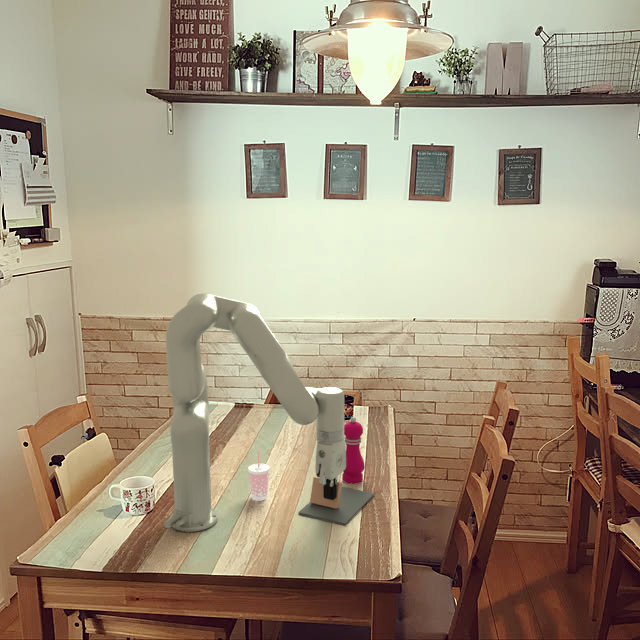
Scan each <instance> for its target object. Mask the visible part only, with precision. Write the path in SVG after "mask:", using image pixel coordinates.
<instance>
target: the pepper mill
mask: <svg viewBox="0 0 640 640" xmlns="http://www.w3.org/2000/svg"><path fill="white" fill-rule="evenodd" d="M363 433H364V428H363V426H362V424H361V423H360V422H358V421H357V418H356V417H355V416H351V417H350V421H348V422H346V423H344V440H345V449H346V468H345V470H344V471H343V472H342V473H341V476H342V477H341V479H342V481H343V482H344V483H345V482H346V484H349V483H352V484H351V485H355V484H356V483H357V484H360V483H362V482H363V480H364V474H363V472H364V470H365V461H364V459H363V456H362V454H361V453H362V452H361V449H360V448H361V447H360V446H361V445H360V444H361V443H362V437H361V436H362V435H363Z"/></svg>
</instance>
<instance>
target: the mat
mask: <svg viewBox="0 0 640 640" xmlns="http://www.w3.org/2000/svg"><path fill="white" fill-rule="evenodd" d="M374 496H375V493H374V492H370V491H364V490H361V489H355V488H352V487H346V486H342V489H341V496H340V503H339V508H336V509H335V508H331V507H327V506H323V505H319V504H314V503H310V501H309V502H308V503H307V504H306V505H305V506H304V507H302V508H301V509H300V510H299V511H298V515H301V516H305V517H308V518H313V519H317V520H321V521H325V522H329V523H333V522H334V524H337V523H340V524H339V525H341V524H344V525H343V526H346V525H348V523H349V522H350V521H351V520H352V519H353V518H354V517H355V516H356V515H357V514H358V513H359V512H360V511H361V510H362V509H363V508H364V507H365V506H366V505H367V504H366V503H369V502H370V500H372V498H374ZM365 504H366V505H365ZM364 505H365V506H364ZM363 506H364V507H363ZM362 507H363V508H362ZM361 508H362V509H361ZM360 509H361V510H360ZM359 510H360V511H359ZM358 511H359V512H358ZM357 512H358V513H357ZM356 513H357V514H356ZM355 514H356V515H355ZM354 515H355V516H354ZM353 516H354V517H353ZM352 517H353V518H352ZM351 518H352V519H351ZM350 519H351V520H350ZM349 520H350V521H349Z"/></svg>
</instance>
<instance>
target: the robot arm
mask: <svg viewBox="0 0 640 640" xmlns="http://www.w3.org/2000/svg"><path fill="white" fill-rule="evenodd" d="M212 328H216V329H221V330H225V331H229V332H230V331H231V333H232V335H233V337H234V339H236V341H237V343H238V344H239V345H240V346H241V348H242V350H243V351H244V352H245V353H246V355H247V356H248V358H249V359H250V361H251V362H252V364H253V365H254V366H255V368H256V370H257V371H258V372H259V374H260V376H261V377H262V379H263V380H264V382H265V383H266V384H267V385H268V387H269V388H270V390H271V391H272V393H273V394H274V396H275V398H276V399H277V400H278V402H279V403H280V405H281V407H282V408H283V409H284V410H285V412H286V414H287V415H288V417H290V419H291V420H292V421H293V422H294V423H295V424H298V425H300V426H308V425H310V424H312V423H314V422H315V440H316V441H317V443H316V448H315V449H316V452H315V464H314V465H315V467H314V468H315V477H320V478H319V484H323V497H324V498H325V499H329V500H334V499H335V498H336V497H337V481H338V476H339V475H340V474H343V473H344V472H343V471H344V470H345V468H346V443H345V435H344V425H345V393H344V391H343V390H342V389H341V388H338V387H331V386H330V387H329V386H327V387H322V388H319V387H318V388H316V387H309V386H307V387H306V385H304V383H303V381H302V380H301V378H300V377H299V375H298V373H297V372H296V370H295V368H294V366H293V364H292V362H291V359H290V357H289V355H288V353H287V351H286V350H285V349H284V348H283V346H282V345H281V343H280V342H279V340H278V339H277V337H276V336H275V335H274V334H273V332H272V331H271V329H270V328H269V326H268V324H267V323H266V321H265V320H264V319H263V317H262V316H261V313H260V310H259V309H258V308H257V307H256V306H255V305H253V304H251V303H250V302H249V303H248V302H246V301H245V302H244V301H242V300H241V301H240V300H235V299H231V298H227V297H223V296H218V295H214V294H210V293H196V294H195V295H193V296H192V297H191V298H189V299H188V301H187V303H186V305H185V306H184V307H182V308H181V309H180V310H178V311H176V313H175V314H174V315H173V316H172V317H171V319H170V321H169V323H168V325H167V328H166V331H165V332H166V333H165V350H166V351H165V352H166V367H167V386H168V390H169V393H170V395H171V396H172V405H173V414H172V418H171V422H170V442H171V453H172V455H171V456H172V473H173V474H172V476H173V494H174V495H173V498H174V502H173V503H174V509H173V510H172V514H171V515H170V516H169V518H168V519H166V520H165V521H163V526H164V527H165V528H166V529H170V528H172V527H173V529H174V530H177V531H179V530H180V531H179V532H184V531H185V532H187V533H190V532H191V533H193V532H194V533H195V532H201V531H204V530H206V529H208V528H209V529H210V528H211V527H212V526H214V525H215V524H216V523H217V521H218V513H217V511H216V510H215V509H213V508H212V488H211V487H212V486H211V485H212V484H211V482H212V481H211V480H212V479H211V462H210V460H211V458H210V456H211V455H210V454H211V453H210V403H209V402H210V401H209V392H208V380H207V372H206V369H205V367H204V365H203V364H202V358H201V357H202V356H201V355H202V354H201V351H202V350H201V338H202V336H203V335H204V334H205V333H206V332H208V331H209V330H211V329H212Z"/></svg>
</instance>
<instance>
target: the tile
mask: <svg viewBox="0 0 640 640" xmlns="http://www.w3.org/2000/svg"><path fill="white" fill-rule="evenodd" d="M319 478H320V477H317V476H314V477H313V479H312V484H311V493H310V497H309V498H310V499H309V502H310V503H314V504H319V505H323V506H327V507H331V508H335V509H336V508H339V503H340V496H341V489H342V487H343V482H342V481H338V480H337V497H336V498H335V499H334V500H329V499H325V498H324V497H323V484H319Z"/></svg>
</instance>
